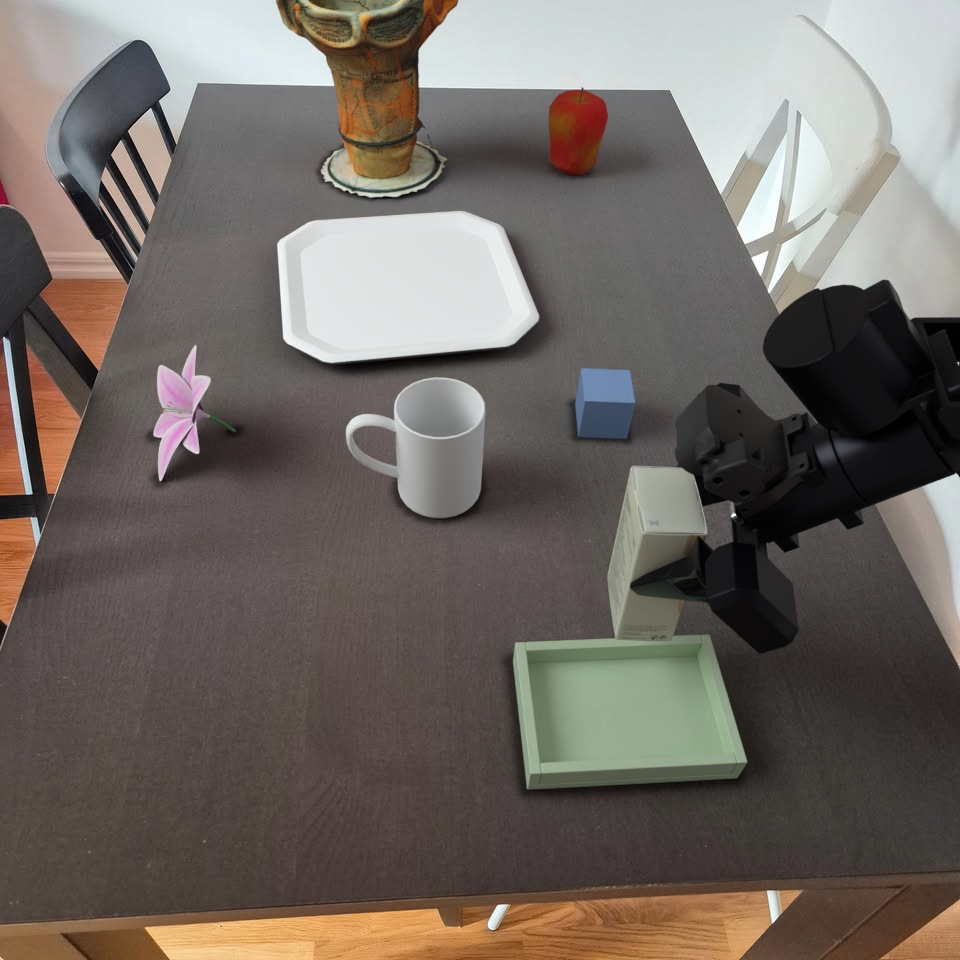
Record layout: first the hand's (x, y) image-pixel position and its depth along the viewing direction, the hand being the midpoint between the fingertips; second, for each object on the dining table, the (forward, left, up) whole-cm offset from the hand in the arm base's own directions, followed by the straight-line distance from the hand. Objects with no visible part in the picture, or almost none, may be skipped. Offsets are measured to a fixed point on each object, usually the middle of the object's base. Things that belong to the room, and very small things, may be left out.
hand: (634, 550), depth 58 cm
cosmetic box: (-1, 0, -7) cm, 7 cm away
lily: (+43, -11, -13) cm, 47 cm away
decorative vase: (+46, -70, -13) cm, 85 cm away
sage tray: (-2, +6, -13) cm, 14 cm away
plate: (+32, -42, -13) cm, 55 cm away
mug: (+20, -12, -13) cm, 27 cm away
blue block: (+5, -27, -13) cm, 30 cm away
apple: (+19, -80, -13) cm, 83 cm away
